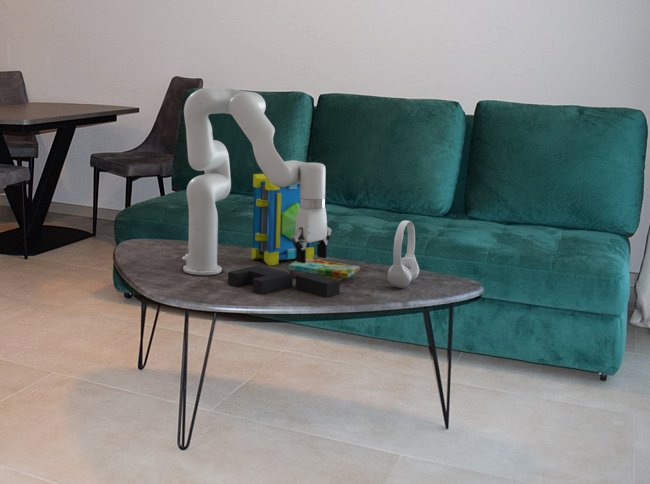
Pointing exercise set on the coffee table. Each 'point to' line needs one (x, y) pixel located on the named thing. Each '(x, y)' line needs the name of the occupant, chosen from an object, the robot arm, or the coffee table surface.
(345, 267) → the puzzle game
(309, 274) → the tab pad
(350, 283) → the coffee table surface
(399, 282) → the headphones
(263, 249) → the blue tall framed box
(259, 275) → the notch pad
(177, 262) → the coffee table surface
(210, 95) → the robot arm
